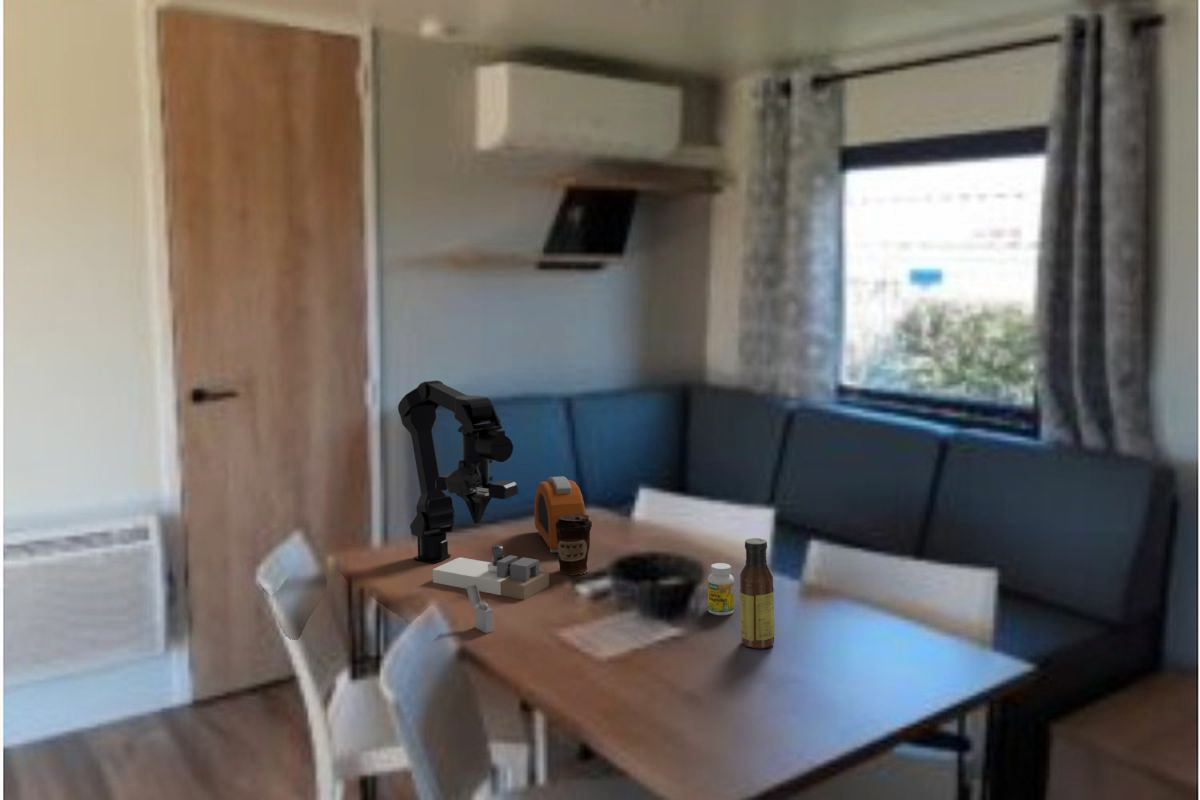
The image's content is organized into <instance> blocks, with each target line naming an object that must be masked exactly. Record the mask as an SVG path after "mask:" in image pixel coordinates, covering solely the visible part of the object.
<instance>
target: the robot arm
mask: <svg viewBox="0 0 1200 800" xmlns="http://www.w3.org/2000/svg"><path fill="white" fill-rule="evenodd" d="M440 407H443V408H445V409H446V410H448V411H451V412H452V413H453V415H454V419H455V420H456V421H458V422H459V423H460V424H461V426H459V427H458V429H457V432H458V433H461V434H462V459H459V460H458V461H459V462H458V468H457V470H454V471H453V472H448V473H445V474H442V475H440V472H439V466H438V460H437V454H436V449H435V443H434V437H433V428H434V426H435V423H436V421H437V410H438V408H440ZM397 408H398V409H397V411H398V414H399V416H400V420H401V423H402V426H404V428H405V429H406V430H407V431H408V432H409V434H410V436H411V442H412V446H413V454H414V459H415V465H416V466H415V467H416V473H417V476H418V484H419V491H420V496H419V498H418V501H417V503H416V507H415V508H416V510H415V511H416V516H415V517H414V519H413V520H412V522H411V523H410V525H409V527H410V529H409V530H410V533H411V535H412V536H415V537H416V538H417V555H415V556H414V557H413V560H414V561H415V560H416V561H419V562H420V561H421V562H426V563H432V564H436V563H439V562H441V561H443V560H445V559H446V560H447V559H448V558H450V557H451V556H452V554H451V553H449V547H448V545H449V544H448V542H449V541H448V539H447V533H452V531H453V527H454V522H455V510H454V506H453V505H454V504H453V499H452V497H451V496H450V495H448V496H447V495H446V493H445V492H444V491H448V494H456V496H457V497H459V498H461V499H462V500H463V501H464V502H465V504H466V506H467V509H468V511H469V514H470V516H471V520H472V522H473V524H476V525H477V524H480V522H481V521H482V518H483V515H484V514H485V511H486V509H487V507H488V505H489V503H490V501H491V500H492V499H496V500H497V499H498V500H506V499H508V498H511V497H514V496H516V495H518V494H519V487H518V484H517V482H515V481H512V480H505V479H504V480H503V479H501V480H499V481H495V482H492V481H493V477H494V476H493V475H490V464H491V463H493V461H494V462H498V463H504V462H506V461H508V460H509V459H510V458H511V456H512V454H513V451H514V444H513V443H512V440H511V439H510V438H509V437H508V436H506V430H505V429H503V426H502V424H501V419H500V418H499V415H498V414H497V412H496V409H495V406H494V405H493V403H492V401H491V399H490V398H488V397H486V396H481V395H467V394H465V393H463V392H461V391H459V390H456V389H455V388H452V387H450V386H449V385H446V384H444V383H443V382H442V381H441V380H428V381H422V382H421V383H419V384H418V386H417V387H416V388H414V389H412V390H411V391H409V392H408V393H406V394H405V395H404V396H403V397H402V398H401V400H400V401H399V403H398V406H397Z"/></svg>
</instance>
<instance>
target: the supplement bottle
mask: <svg viewBox="0 0 1200 800" xmlns="http://www.w3.org/2000/svg"><path fill="white" fill-rule="evenodd" d="M710 572H711V573H710V575H709V576H708V577H707V611H708V613H710V614H712V615H714V616H715V615H716V616H728V615H731V614H733V612H734V611H735V578H734V575H732V574H731V573H732V566H731V565H730V564H728V563H724V562H718V563H717V562H716V563H712V564H711V565H710Z"/></svg>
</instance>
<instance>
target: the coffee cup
mask: <svg viewBox="0 0 1200 800" xmlns="http://www.w3.org/2000/svg"><path fill="white" fill-rule="evenodd" d="M555 526H556V533H557V546H558V552H557V554H558V558H557V559H558V563H559V564H558V565H559V572H560V573H561V574H563V575H566V576H567V575H568V576H569V575H570V576H577V575H578V574H580V575H584V574H587V573H588V570H589V569H588V560H589V559H588V557H589V555H588V554H589V551H590V544H591V543H590V539H591V529H592V526H593V521H592V520H591V519H590V516H589V515H588V514H586V515H584V514H567V515H564V516H560V517H559V520H558V521H557V522H556V525H555ZM586 572H587V573H586ZM583 573H584V574H583ZM578 576H579V575H578Z"/></svg>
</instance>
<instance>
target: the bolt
mask: <svg viewBox="0 0 1200 800" xmlns="http://www.w3.org/2000/svg"><path fill="white" fill-rule="evenodd" d="M491 549H492V550H491V552H492V553H491V554H492V555H491V556H492V557H491V561H492V562H490V564H488V571H489V572H494V573H497V561H499V560H501V559H503V558H504V546H503V545H501V544H497V545H492V546H491ZM508 575H511V574H510V565H508ZM530 576H531V568H529V577H530Z"/></svg>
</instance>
